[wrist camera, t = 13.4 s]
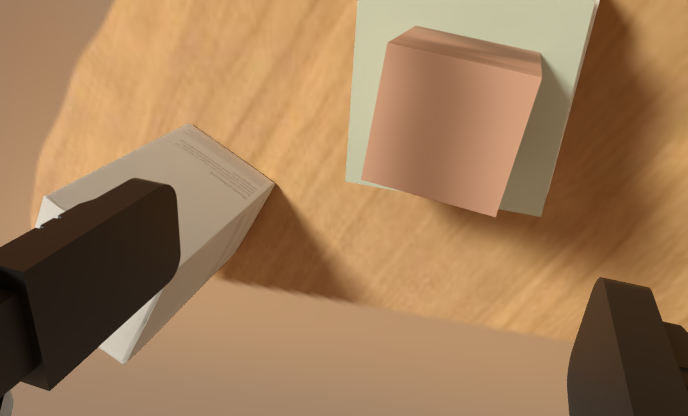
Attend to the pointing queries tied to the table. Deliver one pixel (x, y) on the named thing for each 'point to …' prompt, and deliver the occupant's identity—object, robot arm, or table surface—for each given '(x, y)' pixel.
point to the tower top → (494, 26)
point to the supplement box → (193, 214)
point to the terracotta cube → (450, 117)
